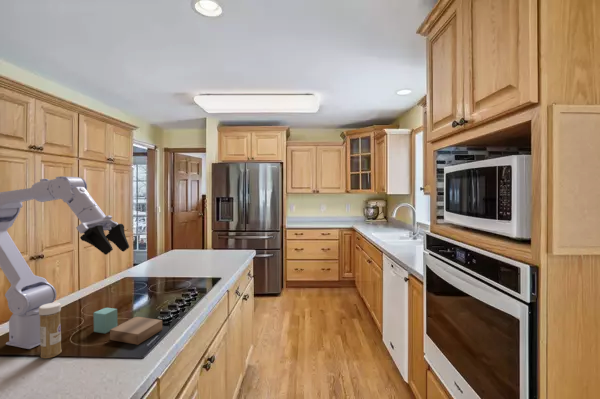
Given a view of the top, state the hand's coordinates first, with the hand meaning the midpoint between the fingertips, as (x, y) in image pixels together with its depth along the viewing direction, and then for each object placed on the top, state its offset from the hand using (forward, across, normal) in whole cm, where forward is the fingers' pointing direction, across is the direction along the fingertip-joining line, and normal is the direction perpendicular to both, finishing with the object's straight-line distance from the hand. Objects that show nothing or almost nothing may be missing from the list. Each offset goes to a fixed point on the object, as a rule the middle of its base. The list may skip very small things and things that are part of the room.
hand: (118, 250), depth 87 cm
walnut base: (+20, +11, +17) cm, 29 cm away
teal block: (+12, +14, +26) cm, 32 cm away
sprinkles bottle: (+11, -1, +30) cm, 32 cm away
